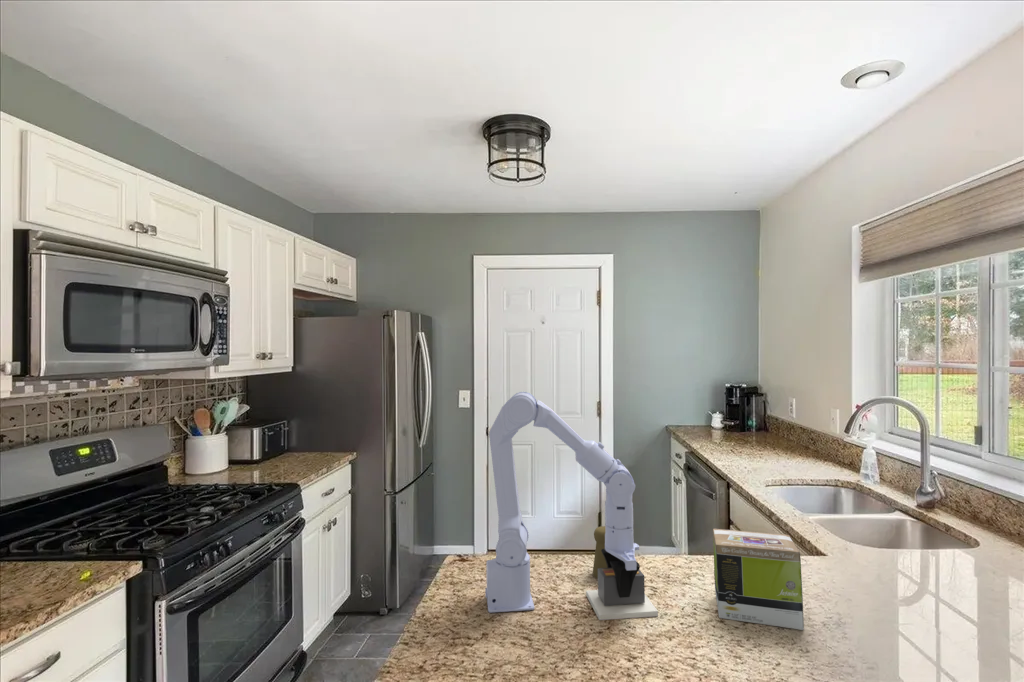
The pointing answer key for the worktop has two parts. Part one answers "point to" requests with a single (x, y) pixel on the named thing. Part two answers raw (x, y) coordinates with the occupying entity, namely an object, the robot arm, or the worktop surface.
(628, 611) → the header board
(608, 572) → the block
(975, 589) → the worktop surface
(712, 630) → the worktop surface
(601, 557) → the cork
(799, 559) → the tea box
